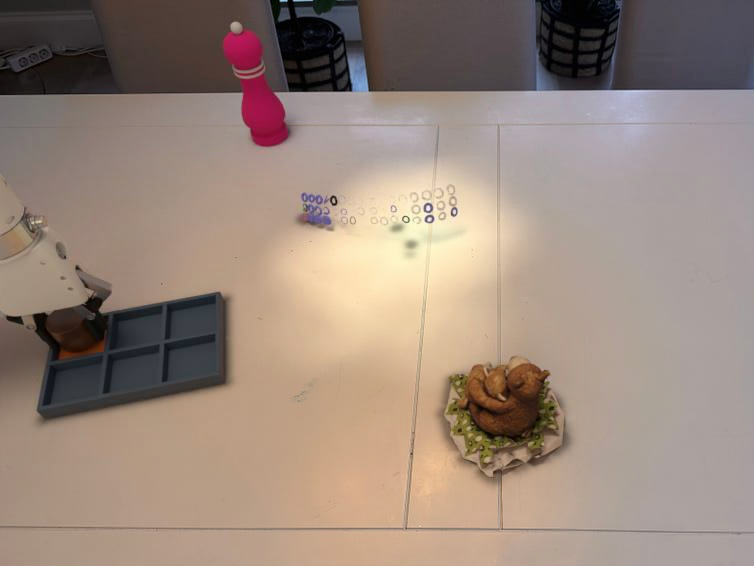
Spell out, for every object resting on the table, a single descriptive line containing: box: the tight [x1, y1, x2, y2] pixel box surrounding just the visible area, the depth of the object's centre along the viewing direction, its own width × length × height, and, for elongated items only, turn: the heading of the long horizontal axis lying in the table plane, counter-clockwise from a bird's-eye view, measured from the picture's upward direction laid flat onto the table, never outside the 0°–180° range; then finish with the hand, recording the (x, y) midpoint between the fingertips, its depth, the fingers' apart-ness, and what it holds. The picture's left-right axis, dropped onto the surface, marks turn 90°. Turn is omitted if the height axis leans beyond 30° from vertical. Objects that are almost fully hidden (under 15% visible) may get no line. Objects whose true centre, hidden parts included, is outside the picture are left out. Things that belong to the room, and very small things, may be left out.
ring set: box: [300, 183, 459, 243], centre depth 99 cm, size 25×12×12 cm, turn 72°
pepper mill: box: [222, 21, 289, 147], centre depth 111 cm, size 7×7×20 cm
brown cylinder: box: [45, 307, 97, 353], centre depth 87 cm, size 5×5×4 cm
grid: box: [36, 291, 226, 420], centre depth 88 cm, size 15×22×2 cm
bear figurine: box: [443, 355, 566, 478], centre depth 77 cm, size 14×15×12 cm
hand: (79, 336), depth 89 cm, fingers closed on brown cylinder, 5 cm apart
